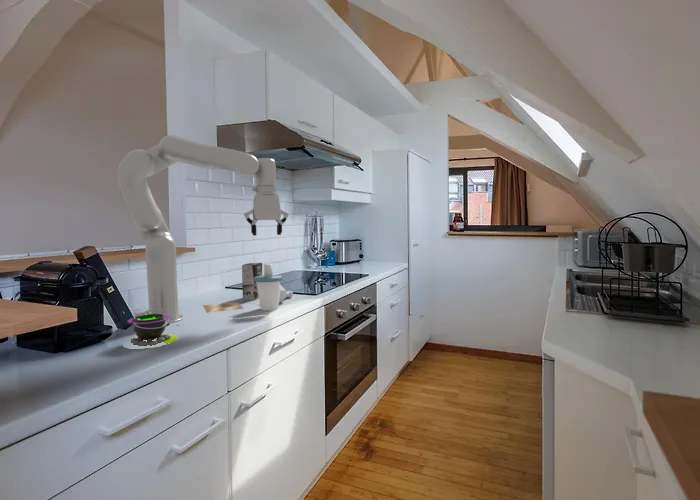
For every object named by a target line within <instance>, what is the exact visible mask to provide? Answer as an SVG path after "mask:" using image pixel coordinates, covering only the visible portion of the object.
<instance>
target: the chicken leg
mask: <svg viewBox="0 0 700 500" xmlns="http://www.w3.org/2000/svg"><path fill="white" fill-rule="evenodd" d="M280 286H281V288H280V297H279V304H282V303H283V301H284V300H285V299H291V298H292V297H293V296H294V292H293V291H292V290H286V289H285V288H284V287H283V286H282V285H281V284H280Z"/></svg>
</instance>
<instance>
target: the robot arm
mask: <svg viewBox="0 0 700 500" xmlns="http://www.w3.org/2000/svg"><path fill="white" fill-rule="evenodd" d="M176 163H182V164H187V165H190V166H194V167H199V168H202V169H208V170H209V169H210V170H215V169H218V170H219V169H220V170H221V169H222V170H225V171H226V170H228V171H231V172H235V174H236V175H237V176H239V178H243V179H245V178H246V179H247V178H248V179H249V178H255V186H254V187H252V189H251V191H252V192H255V194H254V196H253V206H252V209H250V210H248V211H246V212H244V213H243V216H244V218H245V221H247V222H248V223H249V224H250V227H251V229H250V230H251V234H252V236H257V225H256V223H257V222H258V221H275V222H276V223H277V224H276V235H277V236H281V235H282V233H283V224H284V223H285V222H286V221H287V219H288V217H289V213H288V212H287V211H284V210H282V209H281V203H280V197H279V194H277V183H276V182H277V181H276V180H277V178H276V169H277V168H276V167H277V166H276V160H275V159H273V158H268V157H259V158H257V157H256V156H254V155H253V154H251V153H248V152H247V153H246V152H244V151H240V150H236V149H232V148H228V147H227V148H226V147H221V146H216V145H210V144H206V143H202V142H199V141H195V140H192V139H187V138H184V137H181V136H176V135H174V134H173V135H172V134H171V135H166V136H163V137H162V138H161V140H160V141H159V143H157V144H156V145H154V146H152V147H150V148H149V149H146V150H145V149H139V148H137V149H134V150H131V151H129V152H128V153H127V154H126V155H125V156H124V157H123V158H122V160H121V161H120V163H119V166H118V167H117V168H118V169H117V182H118V187H119V189H120V191H121V194H122V197H123V199H124V201H125V205H126V206H127V208H128V211H129V213H130V215H131V219H132V221H133V224H134V225H135V228H136V229H137V231H138V233H139V235H140V237H141V239H142V241H143V243H144V247H145V248H144V249H145V251H144V252H145V263H146V265H145V266H146V279H147V298H148V301H147V302H148V308H147V310H145V311H144V312H140V311H138V312H135V313H136V314H135V313H134V319H135V318H136V317H138V316H142V315H145V314H147V315H148V314H150V312H151V314H162V315H164V316H165V315H166V316H167V317H168V316H170V318H168V323H167V320H165V321H166V323H167V324H166V326H167V325H170V324H174V323H177V322H181V321H183V320H184V315H182V314H180V313H179V294H178V293H179V292H178V291H179V290H178V275H177V274H178V273H177V272H178V271H177V246H176V241H175V239H174V238H173V237H172V235H171V232H170V230H169V227H168V226H167V223H166V220H165V218H164V217H163V214H162V211H161V210H160V208H159V207H158V204H157V203H156V201H155V198H154V197H153V194H152V192H151V189H150V187H149V184H148V181H147V178H149V177H151V176H153V175H155V174H157V173H159V172H161V171H163V170H165V169H168V168H169V167H171V166H173V165H174V164H176ZM251 214H252V219H251V218H250V215H251ZM282 215H283V217H282ZM281 218H282V219H281ZM153 304H154V305H153ZM155 304H156V305H155ZM149 308H152V309H149ZM159 308H160V309H159ZM162 309H164V310H163V311H162ZM156 312H158V313H156ZM165 318H166V317H164V319H165Z"/></svg>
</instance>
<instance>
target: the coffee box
mask: <svg viewBox="0 0 700 500" xmlns="http://www.w3.org/2000/svg"><path fill="white" fill-rule="evenodd" d="M262 275H263V262H249V263H245V264H242V265H241V277H242V279H241V281H242V283H241V284H242V285H241V287H242V301H256V300H259V295H258V289H257V285H258V282H256V281H254V277H256V276H262Z"/></svg>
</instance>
